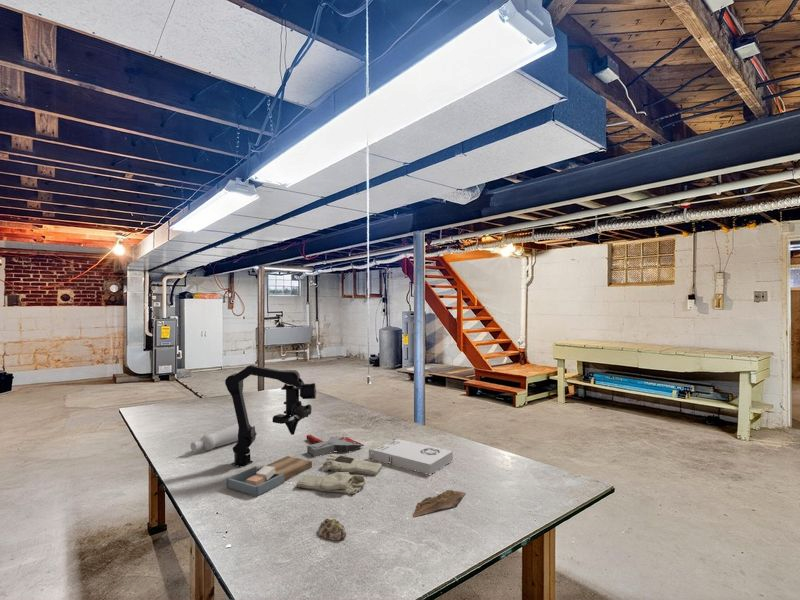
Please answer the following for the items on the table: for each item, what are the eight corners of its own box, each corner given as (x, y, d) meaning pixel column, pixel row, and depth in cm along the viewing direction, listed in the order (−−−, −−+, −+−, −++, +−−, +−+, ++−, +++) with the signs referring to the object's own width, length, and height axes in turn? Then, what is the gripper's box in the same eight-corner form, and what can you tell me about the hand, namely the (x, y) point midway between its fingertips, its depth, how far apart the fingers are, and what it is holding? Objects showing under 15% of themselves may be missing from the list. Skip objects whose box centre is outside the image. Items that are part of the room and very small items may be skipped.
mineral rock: (310, 524, 123) (332, 508, 129) (313, 536, 124) (335, 520, 129) (329, 540, 115) (352, 523, 121) (333, 553, 116) (355, 535, 121)
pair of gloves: (332, 461, 181) (332, 449, 182) (385, 469, 172) (385, 456, 173) (292, 489, 153) (292, 475, 153) (352, 500, 144) (352, 485, 144)
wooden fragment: (454, 488, 153) (454, 486, 153) (476, 499, 144) (476, 496, 144) (400, 510, 137) (400, 506, 137) (421, 523, 128) (421, 520, 128)
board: (257, 475, 166) (257, 469, 166) (287, 461, 181) (287, 455, 181) (282, 482, 159) (282, 475, 159) (311, 467, 174) (311, 461, 174)
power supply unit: (393, 448, 199) (393, 437, 199) (453, 462, 180) (452, 451, 180) (368, 459, 184) (368, 448, 184) (430, 477, 165) (430, 464, 165)
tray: (226, 488, 154) (226, 478, 154) (255, 475, 166) (255, 466, 166) (256, 497, 146) (256, 487, 146) (284, 482, 158) (284, 473, 158)
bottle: (239, 429, 219) (185, 447, 193) (244, 416, 216) (191, 433, 191) (248, 441, 215) (195, 461, 189) (254, 428, 213) (201, 446, 187)
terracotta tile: (246, 486, 154) (246, 479, 154) (255, 481, 159) (255, 474, 159) (256, 488, 152) (256, 481, 152) (265, 483, 157) (265, 476, 157)
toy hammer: (332, 427, 221) (363, 441, 198) (332, 434, 221) (363, 449, 198) (291, 436, 206) (319, 452, 183) (291, 444, 206) (319, 460, 182)
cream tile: (257, 478, 159) (256, 472, 159) (266, 471, 164) (264, 465, 163) (267, 480, 157) (266, 474, 157) (275, 472, 161) (274, 467, 161)
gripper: (290, 405, 169) (290, 443, 169) (320, 397, 185) (320, 431, 185) (271, 402, 174) (271, 439, 174) (301, 394, 191) (301, 428, 190)
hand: (292, 434), depth 181 cm, fingers closed
